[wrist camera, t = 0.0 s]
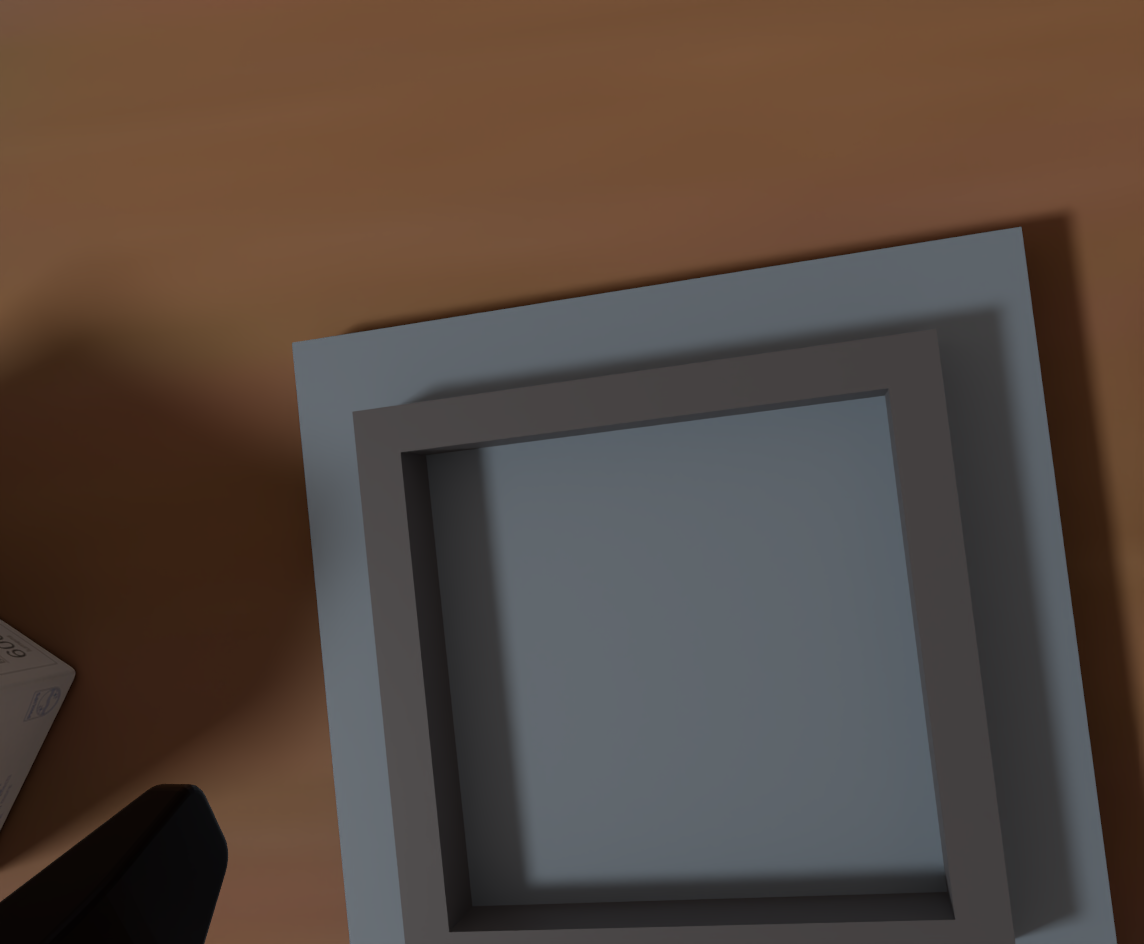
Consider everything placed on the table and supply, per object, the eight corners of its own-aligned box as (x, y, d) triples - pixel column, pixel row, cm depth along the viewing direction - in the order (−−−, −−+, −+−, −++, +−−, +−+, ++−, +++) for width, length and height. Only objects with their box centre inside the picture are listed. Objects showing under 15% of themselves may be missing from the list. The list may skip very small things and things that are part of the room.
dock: (1114, 1016, 22) (1153, 1086, 20) (381, 1020, 26) (330, 1079, 23) (1012, 240, 23) (1034, 207, 20) (315, 349, 27) (258, 333, 24)
